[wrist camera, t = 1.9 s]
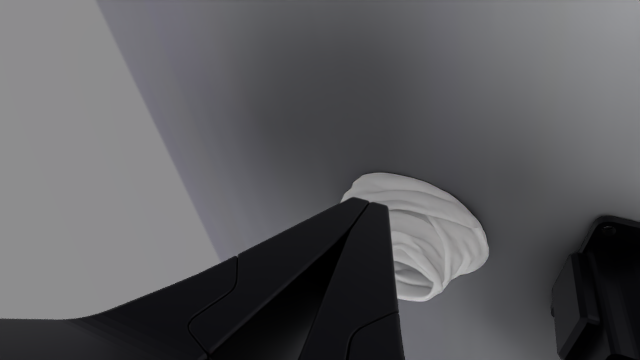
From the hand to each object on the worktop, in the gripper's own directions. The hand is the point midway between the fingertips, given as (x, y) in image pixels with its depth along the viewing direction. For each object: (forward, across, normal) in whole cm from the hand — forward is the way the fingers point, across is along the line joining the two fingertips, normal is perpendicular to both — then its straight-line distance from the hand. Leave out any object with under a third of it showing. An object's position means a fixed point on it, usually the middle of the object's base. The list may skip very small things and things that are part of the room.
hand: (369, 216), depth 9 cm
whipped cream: (+11, 0, +8) cm, 14 cm away
